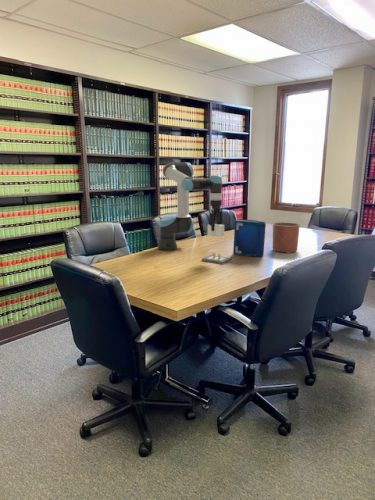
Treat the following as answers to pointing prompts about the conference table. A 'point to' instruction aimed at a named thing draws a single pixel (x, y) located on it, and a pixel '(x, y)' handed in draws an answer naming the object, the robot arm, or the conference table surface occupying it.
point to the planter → (285, 236)
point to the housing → (217, 230)
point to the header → (216, 259)
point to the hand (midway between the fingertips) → (215, 234)
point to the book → (249, 238)
